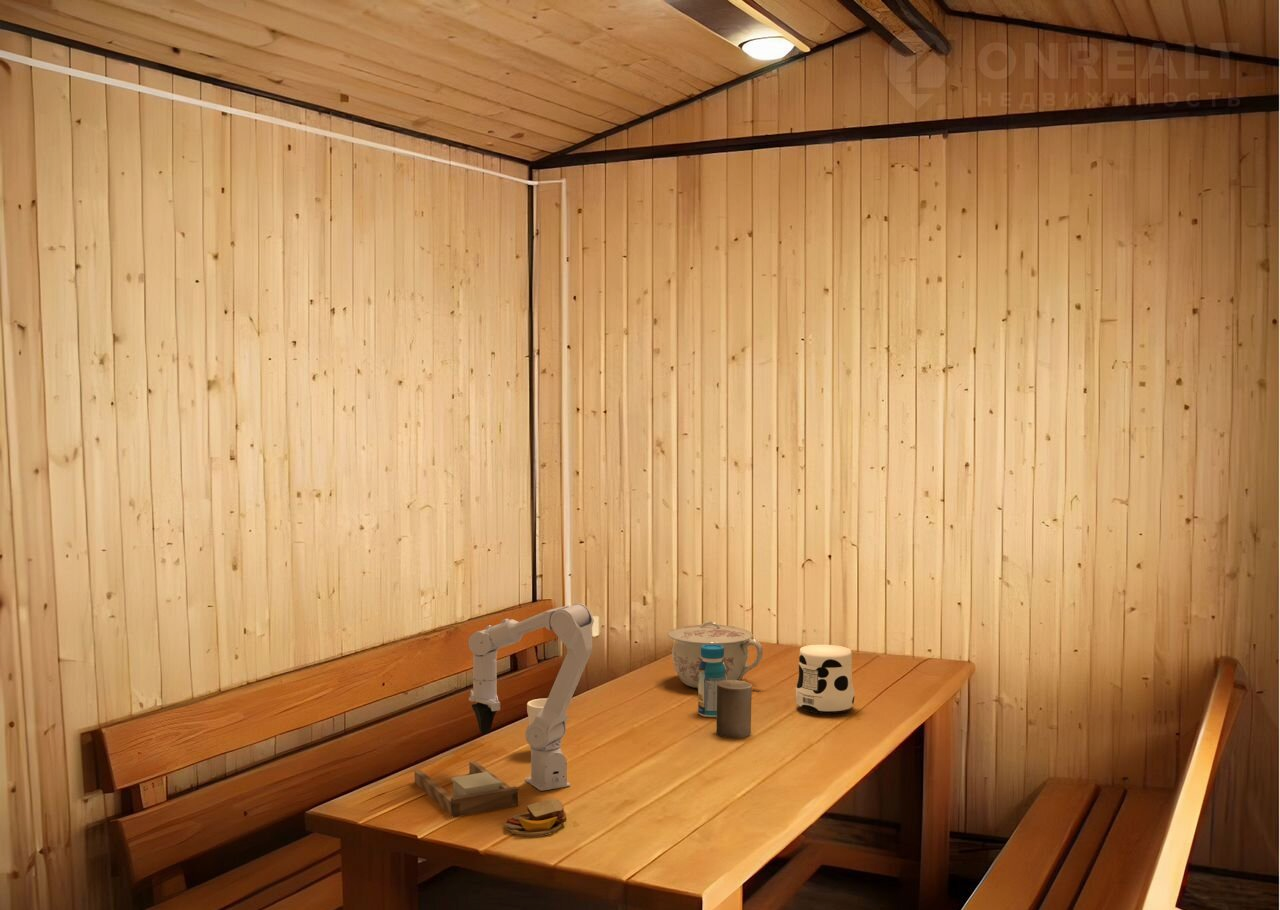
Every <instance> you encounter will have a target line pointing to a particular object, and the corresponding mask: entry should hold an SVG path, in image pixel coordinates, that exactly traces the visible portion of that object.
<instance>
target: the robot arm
mask: <svg viewBox="0 0 1280 910" xmlns="http://www.w3.org/2000/svg"><path fill="white" fill-rule="evenodd" d="M594 622H595V619H594V617H593V616H592V613H591V611H590V609H589V608H588V606H586V605H585V604H583V603H579V602H578V603H574V604H572V605H565V606H560V607H556V608H550V609H548V610H545V611H543V612H540V613H538V614H536V615H534V616H530V617H528V618H525V619H523V620H521V621H518V620H515V619H513V618H511V619H509V618H505V619H501V621H500V623H498V624H495V625H491V624H490V625H488V626H486V627H485V629H483V630H479V631H478V630H477V631H475V632H474V633H473V634H471V635H470V636H469V638H468V649H469V650H470V652H471V653H472V668H473V669H472V672H473V673H472V679H473V680H472V681H473V682H472V683H473V684H472V687H473V689H471V690H470V696H469V697H468V701H470V702H476V703H473V704H471V708H472V710H473V712H474V713H475V717H476V720H477V724H478V725H477V726H478V729H479V732H480V734H481V735H487V734H490V733H491V731H492V725H493V722H494V719H495V716H496V713H498V711H501V702H500V701H499V697H498V694H497V693H498V692H497V690H498V689H497V685H498V681H497V678H498V677H497V675H498V674H497V673H498V672H497V667H498V666H497V664H498V663H497V661H498V660H497V657H498V650H500V649H504V648H506V647H508V646H511V645H514V644H516V643H519V642H520V641H521V640H522V638H523V636H524V634H528V633H530V632H533V631H537V630H541V629H542V628H546V630H548V631H553V632H554V633H555V635H556V636H557V638H558V639H559V640H560V641H561V643H562V644H563V645H564V646H565V647H566V650H567V652H566V655H565V657H564V658H563V662H562V664H561V667H560V668H559V670H558V673H557V676H556V677H555V680H554V683H553V685H552V688H551V690H550V692H549V695H548V697H547V698H548V699H547V701H546V703H545V706H544V708H543V709H542V710H541V711H540V712H539V713H538V715H537V716H536V718H535V720H534V722H533V723H532V724H529V725H528V726H527V727H526V730H525V740H526V742H527V743H528V745H529V746H530V776H529V777H525V778H524V781H526V782H527V783H528V784H530V785H532V787H534V788H535V789H537V790H538V791H540V792H542V791H549V790H554V789H560V788H566V787H570V786H571V783H570V782H569V781H568V766H567V765H568V761H567V758H566V755H564V754H563V752H562V738H563V737H564V736H565V734H566V732H567V721H568V718H569V716H568V714H567V710H568V707H569V706H570V703H571V701H572V699H573V695H574V693H575V691H576V689H577V687H578V684H579V682H580V679H581V677H582V675H583V672H584V670H585V668H586V666H587V664H588V661H589V659H590V657H591V654H592V652H593V625H594Z"/></svg>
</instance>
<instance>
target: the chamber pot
mask: <svg viewBox="0 0 1280 910" xmlns="http://www.w3.org/2000/svg"><path fill="white" fill-rule="evenodd" d="M667 637H669V638H670V639H672V640H674V641H675V642H674V644H673V645H672V648H671V657H672V658H671V659H672V662H673V666H674V671H675V673H676V674H677V676H678V677H679V679H680V681H681V682H682V683H683V684H685V685H686V686H687V687H691V688H693V689H695V690H698V675H699V671H698V668H699V665H700V663H701V661H702V660H703V658H701V646H703V645H708V644H715V645H721V646H723V647H724V658H723V659H722V661H723V662H724V664H725V666H726V672H725V675H726V677H727V680H738V681H742V678H744V676H745V675H746V674H747V673H748V672H749V671H751V670H752V669H754V668H756V667H757V666H758V664H760V663H761V661H762V660H763V657H764V648H763V646H762V644H761V642H760V641H759V640H758V639H756V638H753V637H754V635H753V633H752V632H751V631H749V630H746V629H744V628H741V627H737V626H736V627H735V626H731V625H722V624H718V623H717V622H715V621H711V620H710V621H704V622H703V623H701V624H693V625H684V626H681V627H677V628H673V629H671V630H670V631H668V632H667ZM749 646H754V647H755V648H756V653H757V654H756V655H757V656H756V659H755V660H754V661H753V662H752V663H751V665H748V661H749V648H748V647H749ZM747 665H748V666H747Z"/></svg>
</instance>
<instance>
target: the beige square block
mask: <svg viewBox="0 0 1280 910" xmlns="http://www.w3.org/2000/svg"><path fill="white" fill-rule="evenodd" d="M450 781H451V782H452V797H457V796H463V795H469V794H475V793H481V792H486V791H492V790H498V789H499V786H501V783H500V782H499V781H498V780H496V779H495V778H494V777H492V776H491V775H490V774H488V773H487V772H483V773H477V774H471V775H470V774H466V775H459V776H453V777H451V780H450Z"/></svg>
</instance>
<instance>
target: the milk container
mask: <svg viewBox="0 0 1280 910" xmlns="http://www.w3.org/2000/svg"><path fill="white" fill-rule="evenodd" d="M798 657H799V658H798V659H799V661H798V681H797V683H796V686H795V700H796V704H797V706H798V707H800V709H802V710H804V711H806V712H811V713H816V714H824V715H826V714H827V715H828V714H829V715H831V714H840V713H845V712H848V711H849V710H851V709H852V708H853V706H854V702H855V698H856V697H855V694H856V693H855V689H854V685H853V677H852V672H853V664H852V663H853V658H852V657H853V655H852V650H851V649H850V648H848V647H845V646H841V645H837V644H836V645H835V644H808V645H804V646H801V647H800V649H799V656H798Z"/></svg>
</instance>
